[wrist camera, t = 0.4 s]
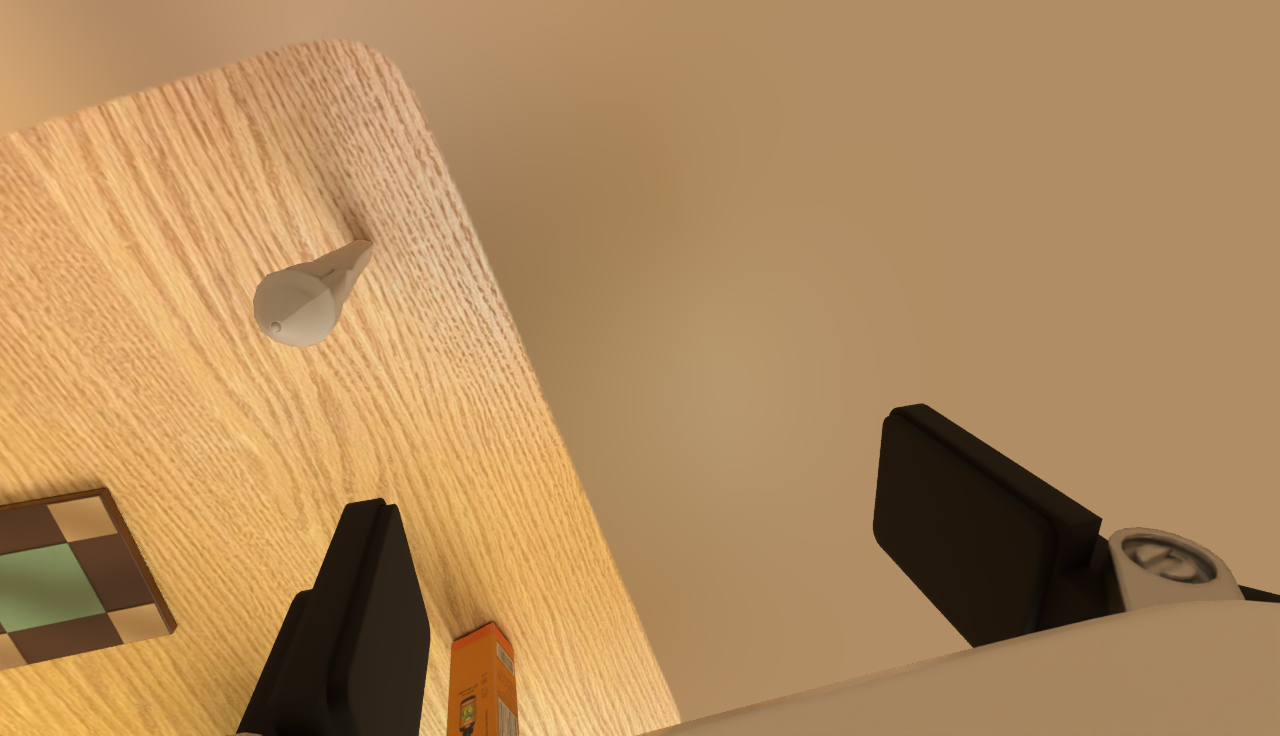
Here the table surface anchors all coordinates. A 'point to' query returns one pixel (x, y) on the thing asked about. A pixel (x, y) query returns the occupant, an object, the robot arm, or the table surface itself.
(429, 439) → the table surface
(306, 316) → the beige tapered rod
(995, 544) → the robot arm
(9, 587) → the board
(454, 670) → the supplement box
